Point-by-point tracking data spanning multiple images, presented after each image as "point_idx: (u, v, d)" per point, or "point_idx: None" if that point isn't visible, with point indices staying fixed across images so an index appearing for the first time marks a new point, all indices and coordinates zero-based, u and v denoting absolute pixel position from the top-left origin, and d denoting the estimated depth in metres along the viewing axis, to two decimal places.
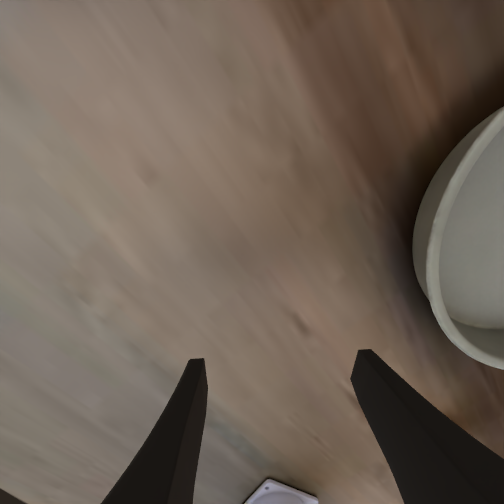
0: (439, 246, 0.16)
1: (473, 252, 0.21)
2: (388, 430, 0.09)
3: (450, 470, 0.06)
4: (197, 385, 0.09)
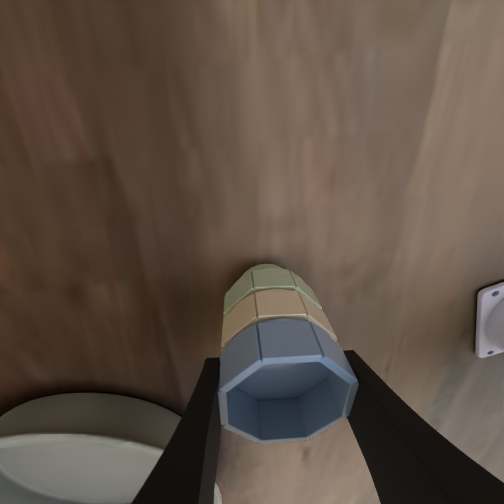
0: None
1: None
2: (367, 432, 0.09)
3: (420, 472, 0.06)
4: (217, 384, 0.09)
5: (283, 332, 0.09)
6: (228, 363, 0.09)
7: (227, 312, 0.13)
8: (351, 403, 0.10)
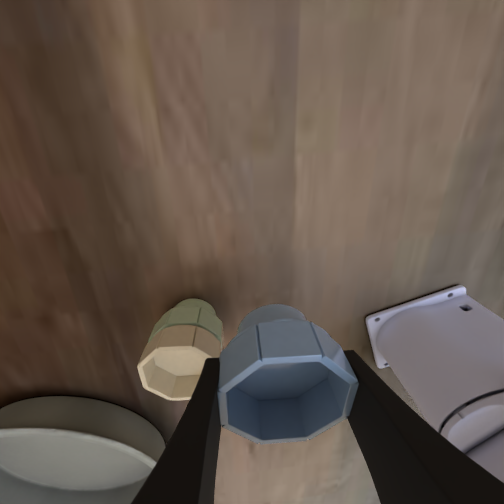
0: None
1: None
2: (367, 431, 0.09)
3: (420, 472, 0.06)
4: (217, 384, 0.09)
5: (283, 332, 0.09)
6: (228, 363, 0.09)
7: (150, 340, 0.18)
8: (351, 403, 0.10)
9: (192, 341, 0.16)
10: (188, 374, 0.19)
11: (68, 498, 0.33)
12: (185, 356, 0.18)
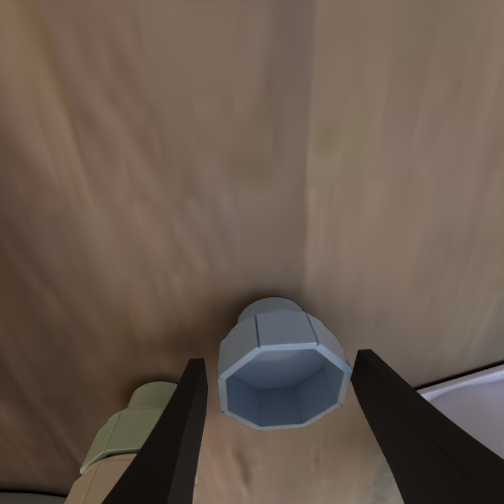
0: None
1: None
2: (388, 430, 0.09)
3: (450, 470, 0.06)
4: (197, 385, 0.09)
5: (280, 322, 0.10)
6: (227, 351, 0.10)
7: (83, 469, 0.12)
8: (345, 391, 0.10)
9: None
10: None
11: None
12: None
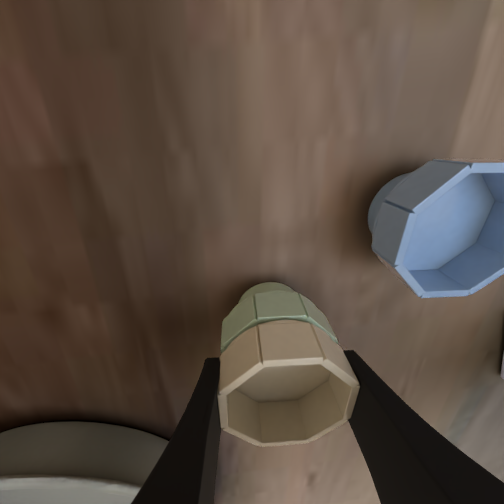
0: None
1: None
2: (367, 432, 0.09)
3: (421, 472, 0.06)
4: (217, 384, 0.09)
5: (469, 159, 0.09)
6: (409, 194, 0.09)
7: (225, 345, 0.11)
8: None
9: (319, 349, 0.09)
10: (276, 399, 0.12)
11: None
12: (279, 372, 0.11)
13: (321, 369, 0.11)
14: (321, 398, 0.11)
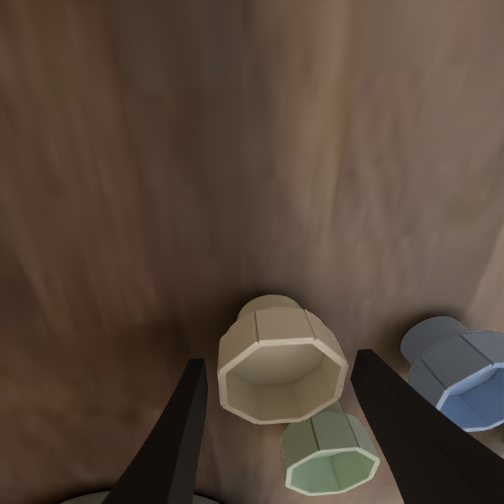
0: None
1: None
2: (388, 430, 0.09)
3: (449, 470, 0.06)
4: (197, 385, 0.09)
5: (489, 341, 0.12)
6: (443, 366, 0.12)
7: (291, 467, 0.13)
8: None
9: (311, 331, 0.09)
10: (273, 382, 0.13)
11: None
12: (275, 356, 0.12)
13: (314, 353, 0.12)
14: (314, 380, 0.12)
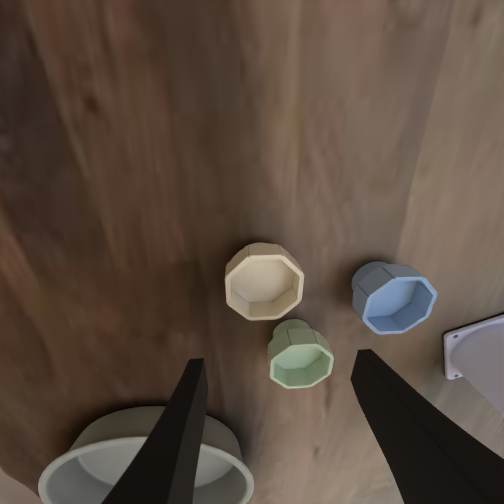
0: None
1: (200, 453, 0.32)
2: (388, 430, 0.09)
3: (450, 470, 0.06)
4: (197, 385, 0.09)
5: (398, 269, 0.18)
6: (369, 285, 0.18)
7: (273, 359, 0.20)
8: (431, 307, 0.18)
9: (280, 252, 0.16)
10: (260, 300, 0.19)
11: None
12: (261, 279, 0.18)
13: (287, 278, 0.19)
14: (287, 295, 0.19)
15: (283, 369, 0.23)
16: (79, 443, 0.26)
